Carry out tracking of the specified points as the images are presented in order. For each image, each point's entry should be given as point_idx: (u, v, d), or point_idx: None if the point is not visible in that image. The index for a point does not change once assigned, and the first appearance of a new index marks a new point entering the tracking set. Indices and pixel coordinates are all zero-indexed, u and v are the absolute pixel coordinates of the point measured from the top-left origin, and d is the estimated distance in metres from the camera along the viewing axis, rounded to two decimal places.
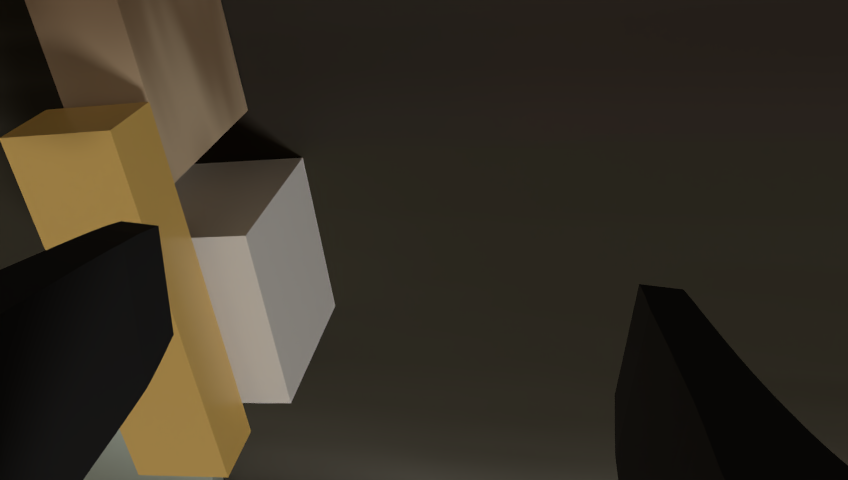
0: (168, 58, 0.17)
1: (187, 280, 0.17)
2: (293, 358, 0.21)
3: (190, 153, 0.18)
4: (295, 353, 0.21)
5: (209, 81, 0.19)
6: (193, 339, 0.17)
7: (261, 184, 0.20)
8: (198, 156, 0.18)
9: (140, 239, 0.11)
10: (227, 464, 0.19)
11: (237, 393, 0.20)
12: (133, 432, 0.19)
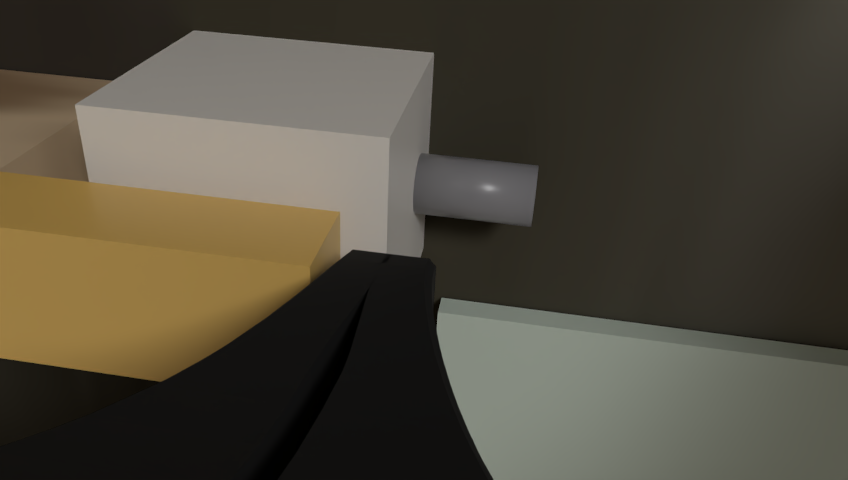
0: None
1: None
2: (347, 113, 0.12)
3: (19, 145, 0.14)
4: (349, 109, 0.12)
5: (23, 103, 0.15)
6: (60, 218, 0.11)
7: None
8: (40, 140, 0.14)
9: (385, 270, 0.11)
10: (294, 258, 0.10)
11: (258, 204, 0.12)
12: None
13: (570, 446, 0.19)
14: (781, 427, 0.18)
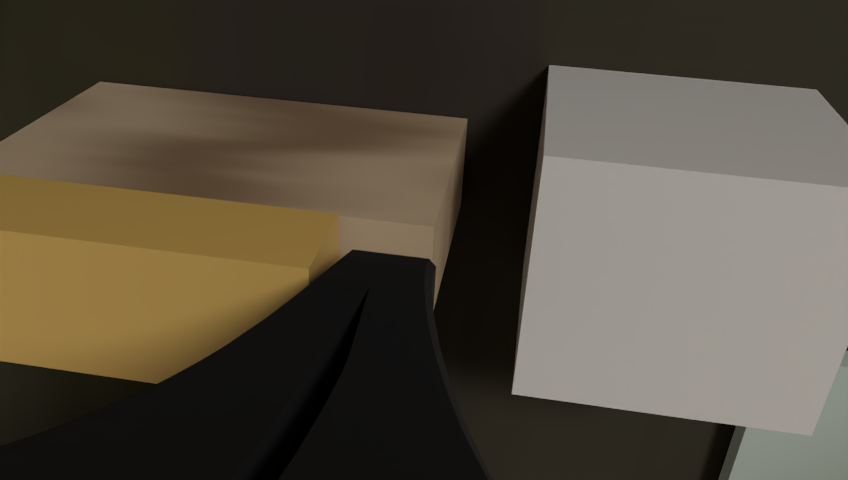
0: (304, 173, 0.13)
1: None
2: (827, 164, 0.12)
3: (427, 194, 0.13)
4: (822, 158, 0.12)
5: (383, 143, 0.15)
6: (57, 221, 0.11)
7: None
8: (442, 187, 0.13)
9: (385, 270, 0.11)
10: (293, 260, 0.10)
11: (256, 207, 0.12)
12: None
13: None
14: None
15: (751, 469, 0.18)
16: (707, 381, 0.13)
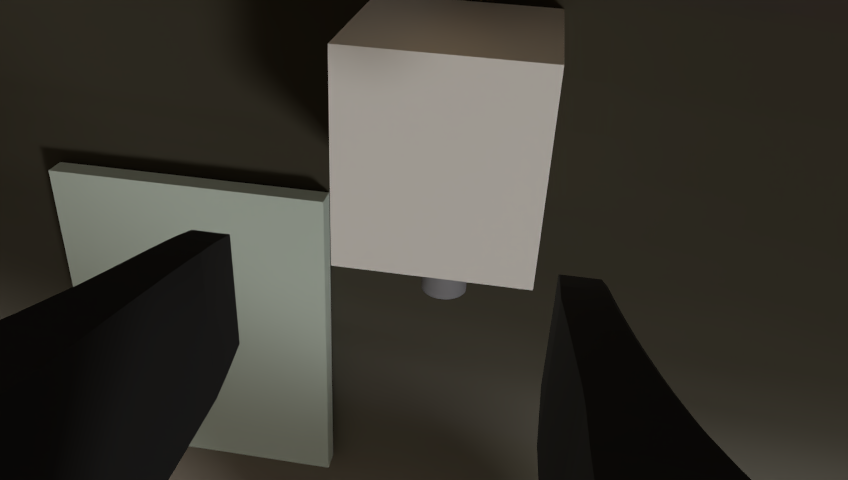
0: None
1: None
2: None
3: None
4: None
5: None
6: None
7: (535, 24, 0.17)
8: None
9: (214, 248, 0.11)
10: None
11: None
12: None
13: None
14: (270, 415, 0.25)
15: (208, 202, 0.22)
16: (368, 194, 0.16)
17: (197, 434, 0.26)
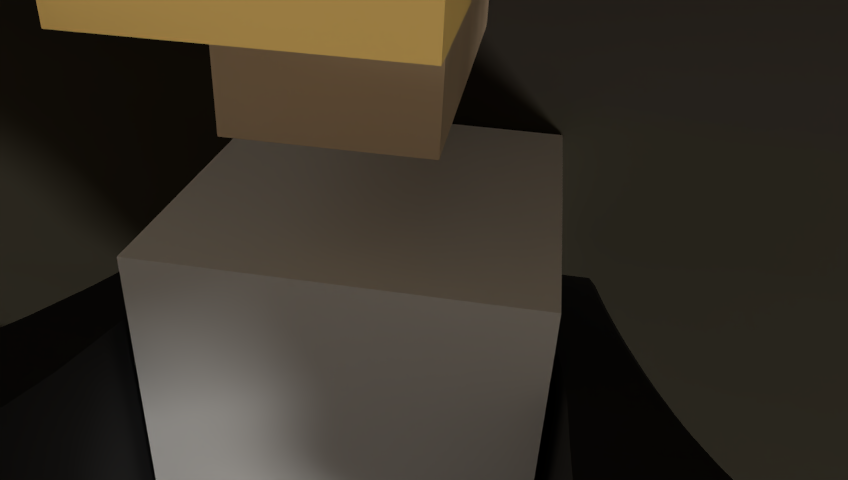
0: None
1: None
2: None
3: (455, 90, 0.08)
4: None
5: None
6: None
7: (512, 181, 0.10)
8: (458, 100, 0.08)
9: None
10: (445, 11, 0.04)
11: None
12: None
13: None
14: None
15: None
16: None
17: None
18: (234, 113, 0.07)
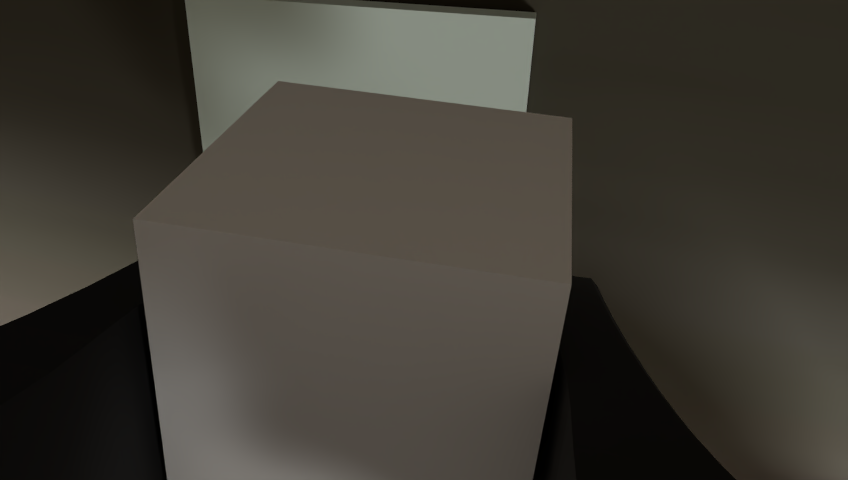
0: None
1: None
2: None
3: None
4: None
5: None
6: None
7: (523, 160, 0.10)
8: None
9: None
10: None
11: None
12: None
13: None
14: None
15: (385, 27, 0.17)
16: (227, 454, 0.09)
17: None
18: None
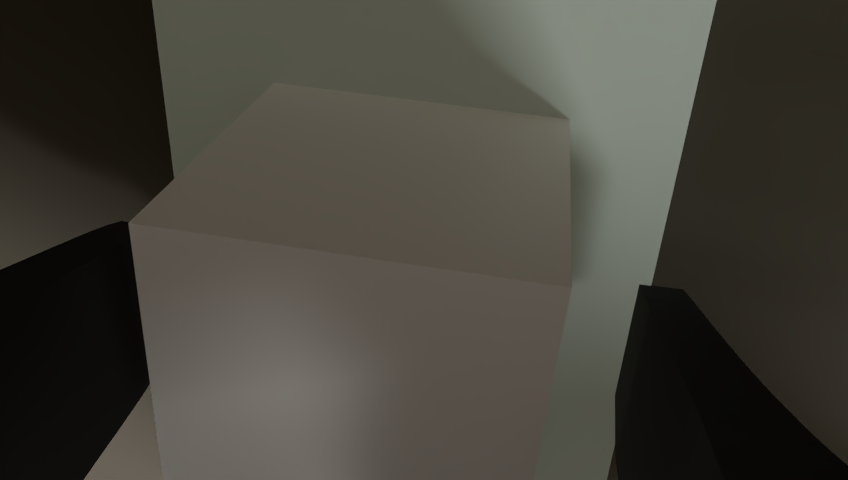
0: None
1: None
2: None
3: None
4: None
5: None
6: None
7: (521, 161, 0.10)
8: None
9: None
10: None
11: None
12: None
13: None
14: None
15: None
16: (224, 459, 0.09)
17: None
18: None
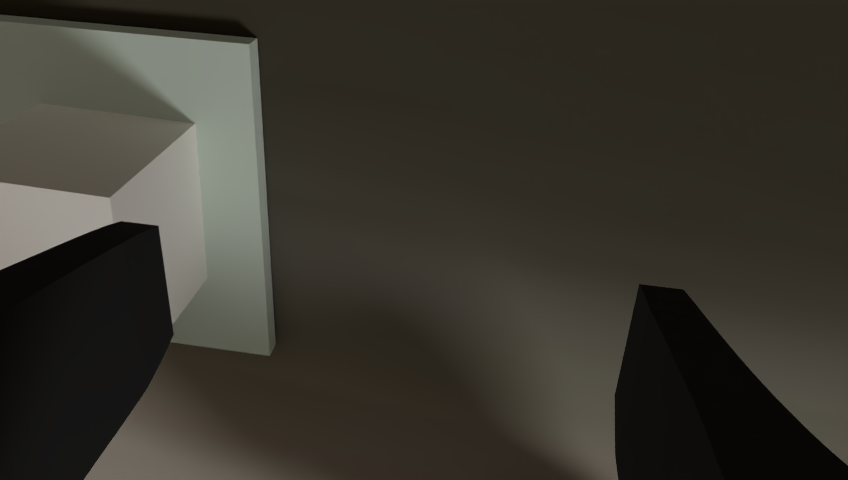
0: None
1: None
2: None
3: None
4: None
5: None
6: None
7: (142, 145, 0.20)
8: None
9: (141, 240, 0.11)
10: None
11: None
12: None
13: None
14: (205, 297, 0.24)
15: (129, 49, 0.20)
16: None
17: None
18: None
